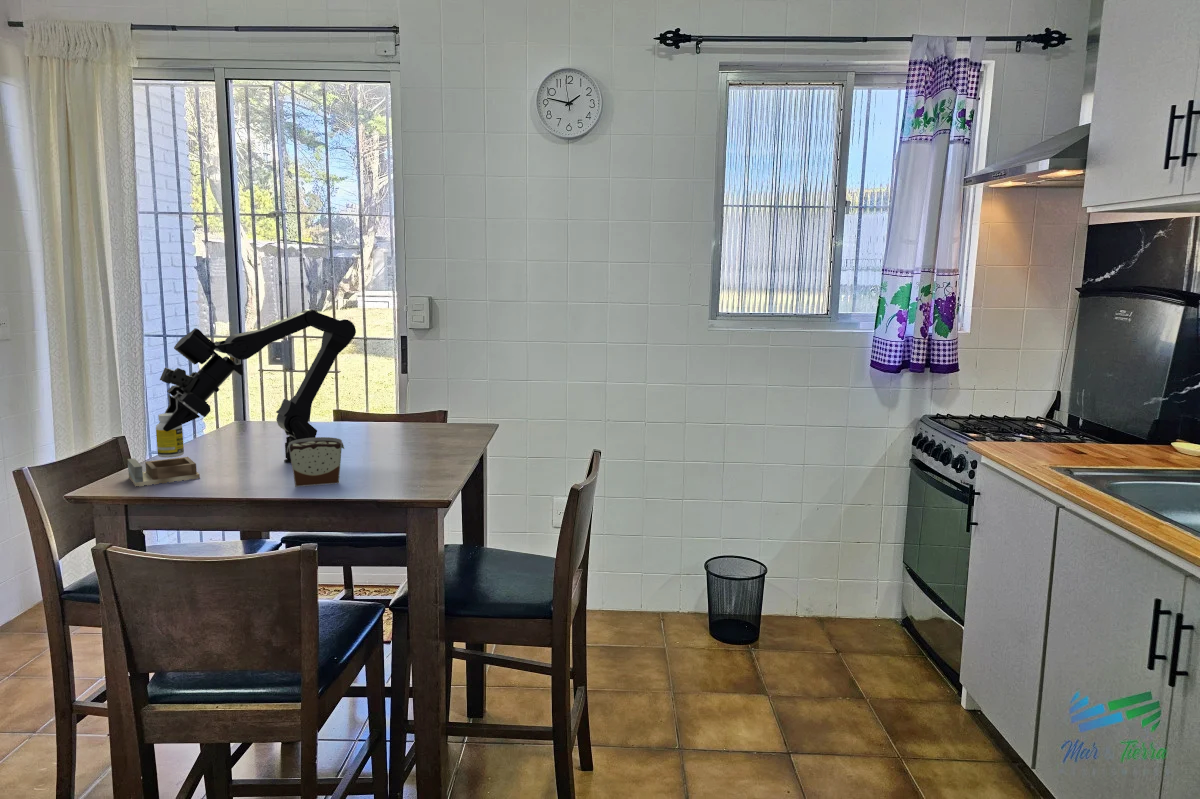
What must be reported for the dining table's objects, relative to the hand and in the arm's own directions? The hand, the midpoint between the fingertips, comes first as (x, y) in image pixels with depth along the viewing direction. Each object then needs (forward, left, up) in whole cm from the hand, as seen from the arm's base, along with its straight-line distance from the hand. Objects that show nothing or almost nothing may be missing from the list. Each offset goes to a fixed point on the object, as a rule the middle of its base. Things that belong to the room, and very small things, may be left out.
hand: (162, 428), depth 181 cm
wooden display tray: (0, 0, -12) cm, 12 cm away
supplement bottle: (-1, -1, -7) cm, 7 cm away
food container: (-36, -2, -12) cm, 38 cm away
